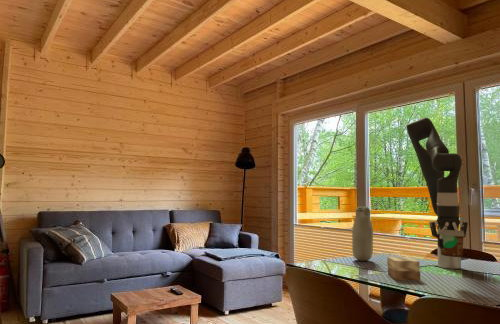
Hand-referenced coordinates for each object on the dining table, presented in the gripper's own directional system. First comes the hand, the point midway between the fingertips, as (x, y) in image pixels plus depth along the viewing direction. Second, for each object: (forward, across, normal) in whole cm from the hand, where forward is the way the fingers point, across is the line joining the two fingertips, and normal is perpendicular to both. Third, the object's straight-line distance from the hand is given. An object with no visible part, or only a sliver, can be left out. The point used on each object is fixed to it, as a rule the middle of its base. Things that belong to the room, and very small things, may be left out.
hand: (449, 248), depth 154 cm
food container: (+3, +1, 0) cm, 3 cm away
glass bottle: (+15, +21, -52) cm, 58 cm away
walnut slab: (+14, +14, -12) cm, 23 cm away
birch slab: (+10, +14, -12) cm, 21 cm away
